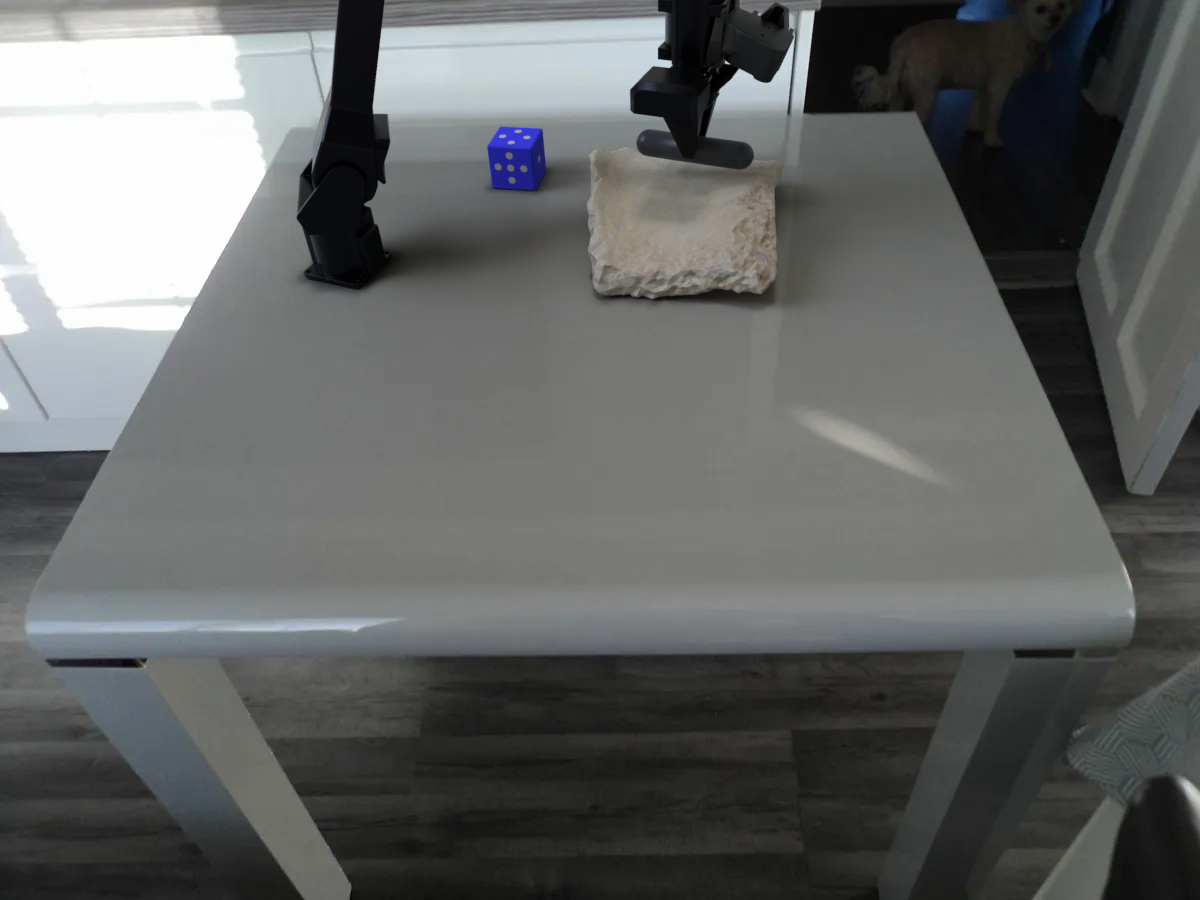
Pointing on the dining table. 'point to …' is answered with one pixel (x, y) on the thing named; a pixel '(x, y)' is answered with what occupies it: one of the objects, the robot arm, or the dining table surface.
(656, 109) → the robot arm
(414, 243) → the dining table surface
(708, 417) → the dining table surface
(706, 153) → the dark grey capsule
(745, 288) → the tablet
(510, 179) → the die
